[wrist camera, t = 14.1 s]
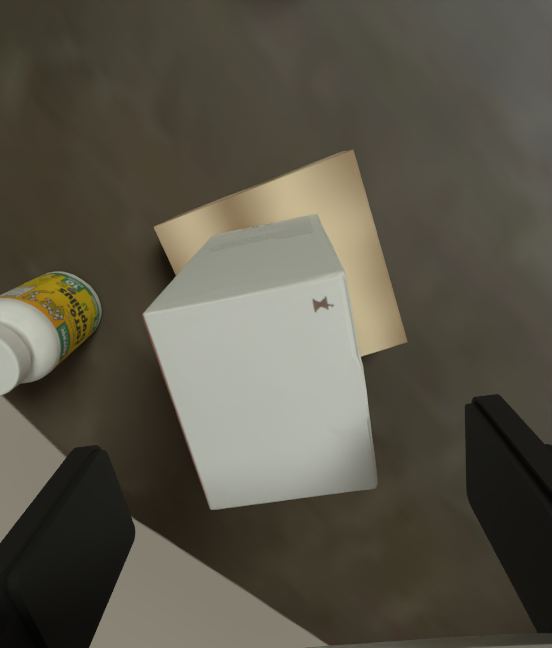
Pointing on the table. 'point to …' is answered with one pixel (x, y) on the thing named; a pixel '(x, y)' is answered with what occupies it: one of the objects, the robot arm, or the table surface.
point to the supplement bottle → (43, 325)
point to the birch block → (337, 220)
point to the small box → (266, 366)
